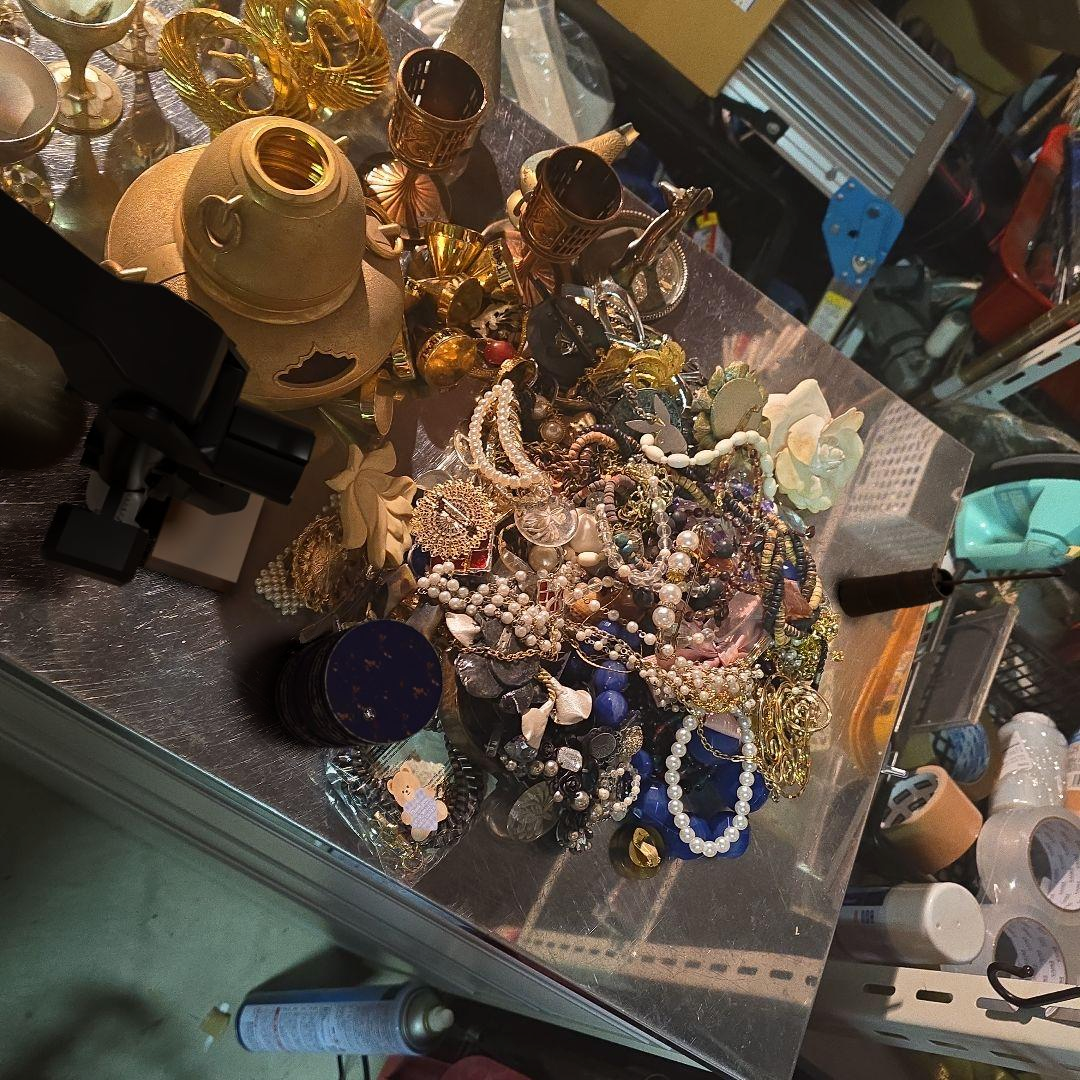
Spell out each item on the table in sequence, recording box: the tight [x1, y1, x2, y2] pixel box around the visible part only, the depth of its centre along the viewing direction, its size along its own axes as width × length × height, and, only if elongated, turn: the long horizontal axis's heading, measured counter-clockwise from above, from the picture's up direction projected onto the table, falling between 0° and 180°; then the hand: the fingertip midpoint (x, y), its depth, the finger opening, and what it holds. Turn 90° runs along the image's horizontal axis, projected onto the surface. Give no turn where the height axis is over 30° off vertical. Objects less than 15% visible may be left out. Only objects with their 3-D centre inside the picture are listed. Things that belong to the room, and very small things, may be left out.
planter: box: [85, 470, 148, 516], centre depth 72 cm, size 4×4×10 cm
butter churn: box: [839, 562, 1065, 618], centre depth 107 cm, size 9×10×28 cm
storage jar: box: [275, 618, 445, 750], centre depth 75 cm, size 10×10×15 cm
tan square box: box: [143, 493, 266, 594], centre depth 77 cm, size 7×8×5 cm
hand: (119, 485), depth 73 cm, fingers open, 8 cm apart
